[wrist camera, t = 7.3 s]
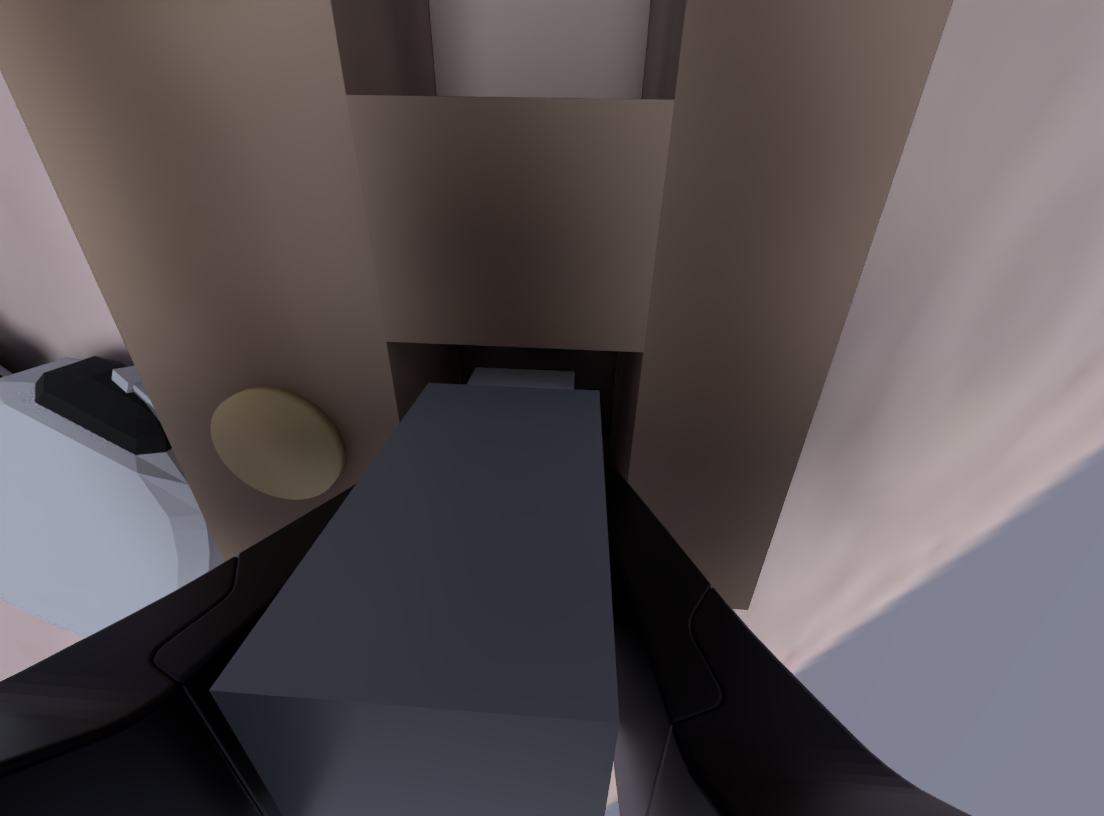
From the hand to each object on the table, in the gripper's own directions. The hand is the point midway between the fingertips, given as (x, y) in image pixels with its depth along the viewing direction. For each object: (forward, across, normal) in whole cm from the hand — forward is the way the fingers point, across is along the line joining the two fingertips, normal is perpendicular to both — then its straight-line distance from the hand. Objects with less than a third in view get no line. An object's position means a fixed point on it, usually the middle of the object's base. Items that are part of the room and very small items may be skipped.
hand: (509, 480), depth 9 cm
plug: (+3, 0, 0) cm, 3 cm away
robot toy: (+6, +17, +3) cm, 18 cm away
